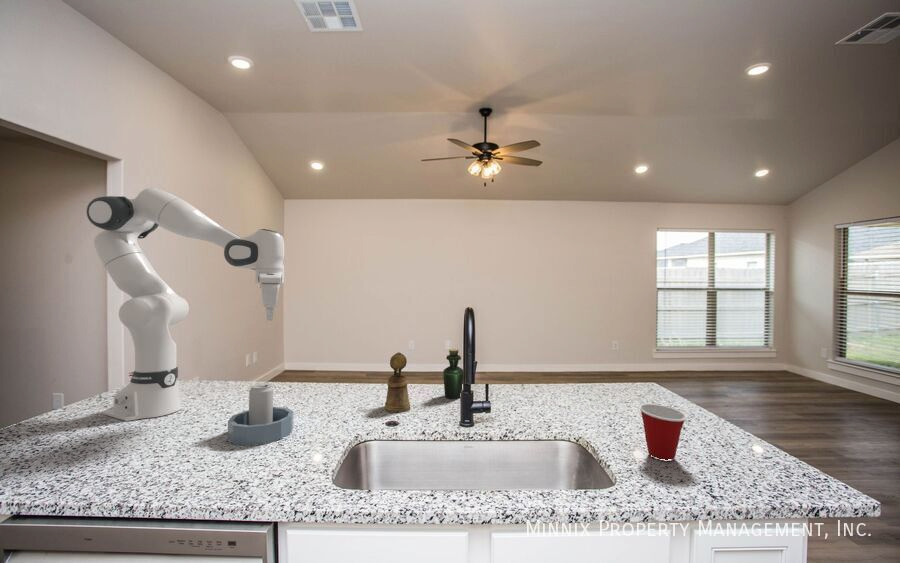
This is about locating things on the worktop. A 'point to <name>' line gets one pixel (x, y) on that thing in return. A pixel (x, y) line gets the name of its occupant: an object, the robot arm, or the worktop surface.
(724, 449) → the worktop surface
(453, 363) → the potion bottle
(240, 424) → the bowl
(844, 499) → the worktop surface
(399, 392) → the wooden bell
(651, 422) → the plastic cup
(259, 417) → the beverage can
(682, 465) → the worktop surface
